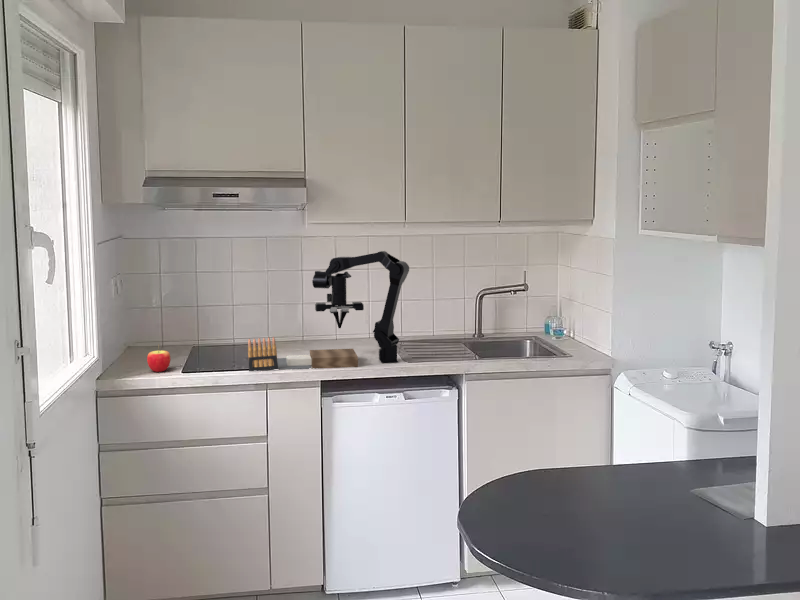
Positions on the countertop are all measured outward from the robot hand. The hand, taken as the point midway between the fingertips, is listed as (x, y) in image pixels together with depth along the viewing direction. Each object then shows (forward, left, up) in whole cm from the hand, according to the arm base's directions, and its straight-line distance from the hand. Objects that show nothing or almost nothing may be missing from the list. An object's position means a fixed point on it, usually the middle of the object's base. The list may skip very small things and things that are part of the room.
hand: (339, 328), depth 323 cm
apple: (+68, +12, -12) cm, 70 cm away
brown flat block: (+3, +10, -12) cm, 16 cm away
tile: (+17, +10, -12) cm, 22 cm away
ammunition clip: (+30, +17, -12) cm, 37 cm away
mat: (+19, +8, -12) cm, 24 cm away
